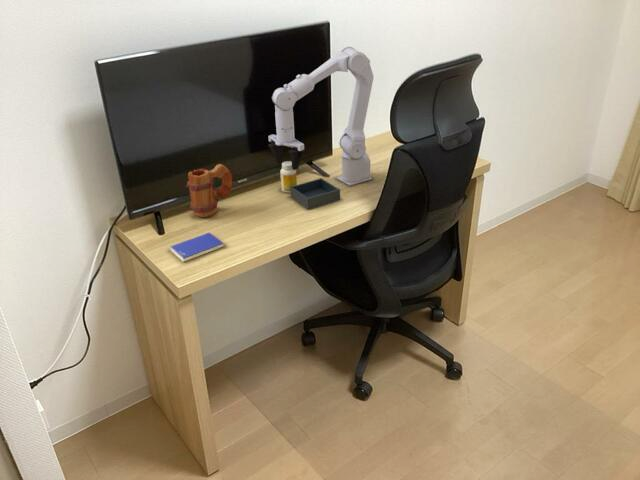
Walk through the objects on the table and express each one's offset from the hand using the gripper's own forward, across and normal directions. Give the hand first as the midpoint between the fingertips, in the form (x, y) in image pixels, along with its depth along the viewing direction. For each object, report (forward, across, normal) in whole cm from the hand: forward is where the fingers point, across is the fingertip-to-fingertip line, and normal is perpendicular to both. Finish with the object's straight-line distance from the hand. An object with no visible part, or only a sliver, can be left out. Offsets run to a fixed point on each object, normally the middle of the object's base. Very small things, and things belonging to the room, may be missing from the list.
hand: (287, 166), depth 191 cm
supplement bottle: (+9, 0, 0) cm, 9 cm away
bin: (+9, +11, +1) cm, 14 cm away
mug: (+9, -8, -27) cm, 29 cm away
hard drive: (+9, +7, -44) cm, 46 cm away
